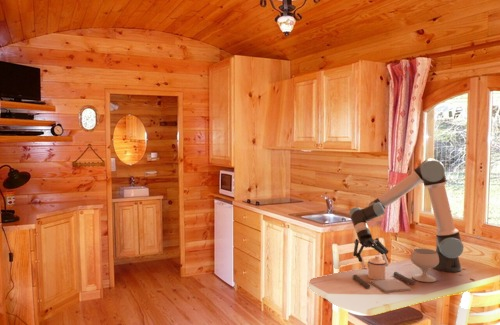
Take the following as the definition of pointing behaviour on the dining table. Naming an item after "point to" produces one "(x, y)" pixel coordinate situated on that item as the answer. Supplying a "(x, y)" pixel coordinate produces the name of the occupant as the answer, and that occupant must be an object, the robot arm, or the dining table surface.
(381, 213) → the robot arm
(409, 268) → the dining table surface
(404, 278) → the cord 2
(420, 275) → the chalice
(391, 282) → the slate tile
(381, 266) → the teacup with lid
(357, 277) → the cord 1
